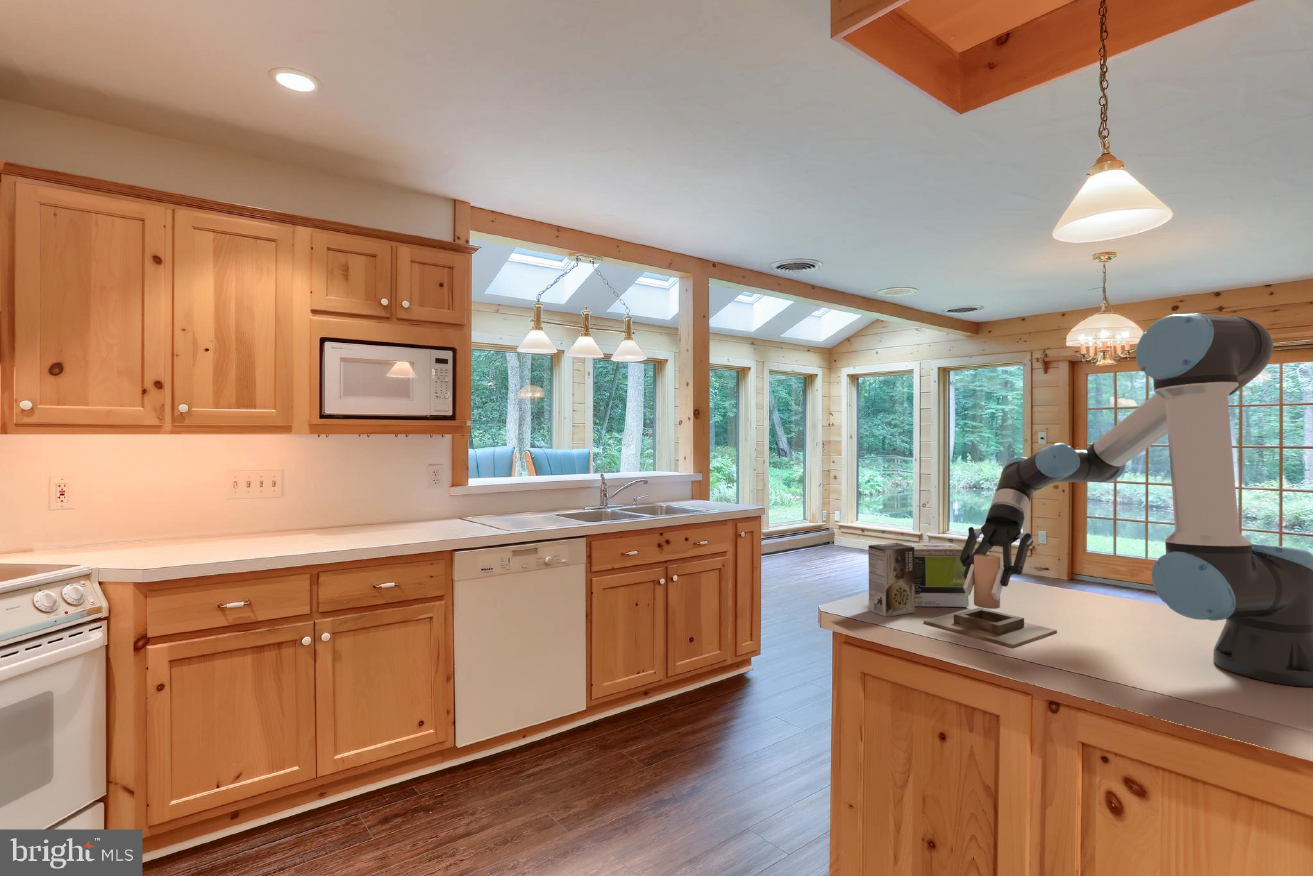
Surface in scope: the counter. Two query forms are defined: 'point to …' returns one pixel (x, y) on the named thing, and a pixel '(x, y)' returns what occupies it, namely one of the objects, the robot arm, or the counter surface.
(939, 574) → the tea box
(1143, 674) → the counter surface
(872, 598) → the coffee box
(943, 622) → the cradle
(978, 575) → the tall mauve pillar
